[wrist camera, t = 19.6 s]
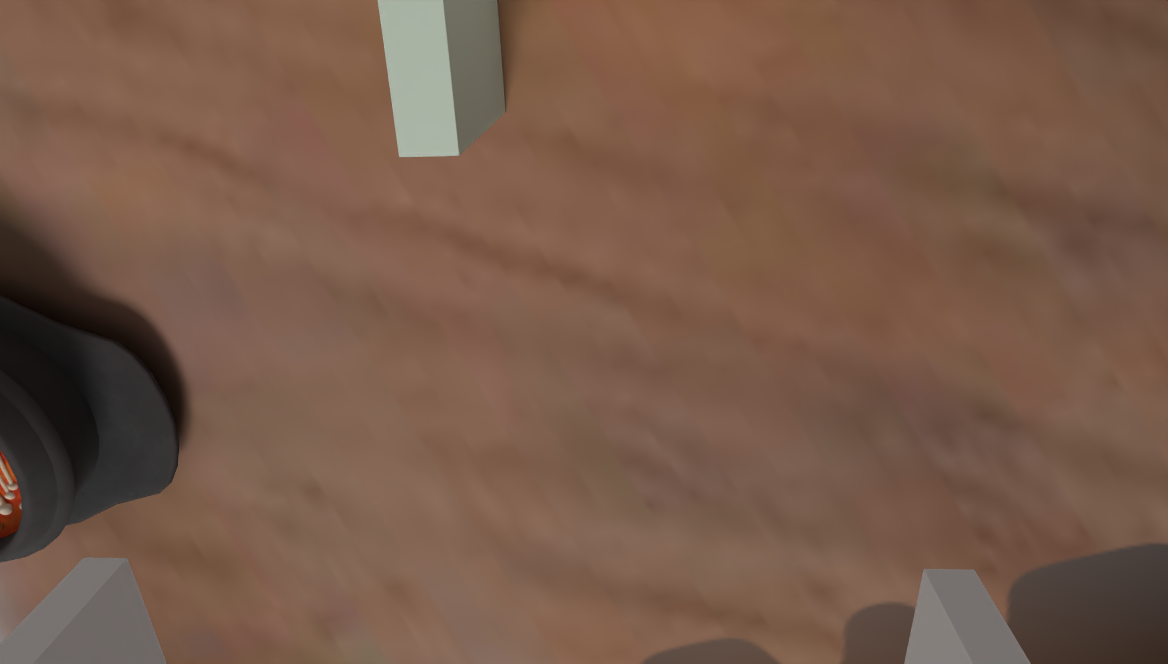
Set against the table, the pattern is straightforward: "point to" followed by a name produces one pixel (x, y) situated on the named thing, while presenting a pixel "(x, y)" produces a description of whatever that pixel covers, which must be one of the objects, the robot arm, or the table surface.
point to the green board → (442, 72)
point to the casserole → (73, 428)
